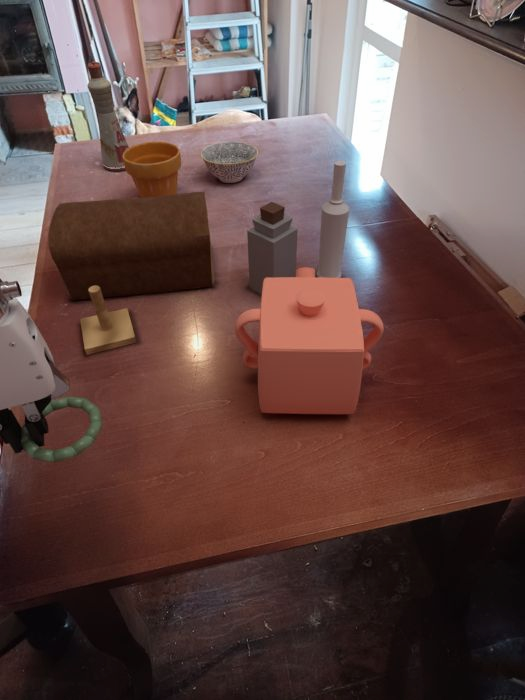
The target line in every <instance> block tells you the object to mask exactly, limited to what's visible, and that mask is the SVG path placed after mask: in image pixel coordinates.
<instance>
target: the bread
mask: <svg viewBox="0 0 525 700" xmlns="http://www.w3.org/2000/svg"><path fill="white" fill-rule="evenodd" d="M47 236H48V237H47V239H48V242H47V243H48V250H49V252H50V257H51V259H52V261H53V263H54V265H55V266H56V269H57V270H58V272H59V274H60V276H61V278H62V281H63V283H64V286H65V289H66V292H67V294H68V295H67V296H69V298H70V300H71V301H80V300H81V301H83V300H91V297H90V294H89V291H88V289H89V288H90V287H91V286H99V287H100V289H101V292H102V295H103V298H112V297H124V296H126V297H127V296H134V295H143V294H154V293H165V292H166V293H167V292H173V291H180V290H181V291H182V290H193V289H202V288H208V287H210V288H211V287H214V284H215V281H216V278H215V277H216V276H215V268H214V260H213V249H212V241H211V232H210V224H209V215H208V207H207V199H206V193H205V191H193V192H185V193H176V194H175V195H165V196H157V197H146V198H141V197H131V198H124V199H123V198H122V199H120V198H119V199H118V198H116V199H115V198H114V199H113V198H112V199H103V200H88V201H73V202H62V203H59V204H58V205H57V206H56V208H55V210H54V211H53V214H52V216H51V221H50V223H49V229H48V234H47Z"/></svg>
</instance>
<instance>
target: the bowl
mask: <svg viewBox="0 0 525 700" xmlns="http://www.w3.org/2000/svg"><path fill="white" fill-rule="evenodd" d="M199 155H200V157H201V159H202V160H203V162H204V164H205V167H206V168H207V170H208V171H209V173H211V175H213V176H214V177H216V178H217V179H218V180H219V181H220V182H222V183H224V184H225V183H226V184H234V183H235V184H236V183H238V182H241V181H242V180H243V178H244V177H246V176H247V175H249V173H250V172H251V171H252V169H253V167H254V164H255V162H256V159H257V157H258V155H259V150H258V148H257V147H255V146H254V145H252V144H250V143H247V142H242V141H219V142H215V143H211V144H209V145H207V146H205V147H204V148H203V149H201V151H200V153H199Z"/></svg>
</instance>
